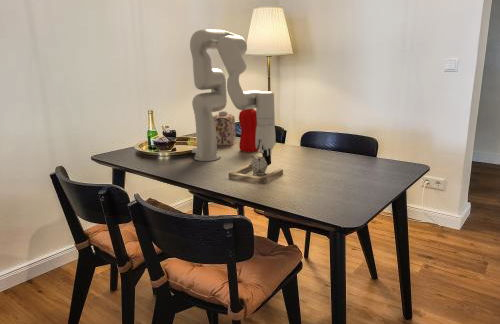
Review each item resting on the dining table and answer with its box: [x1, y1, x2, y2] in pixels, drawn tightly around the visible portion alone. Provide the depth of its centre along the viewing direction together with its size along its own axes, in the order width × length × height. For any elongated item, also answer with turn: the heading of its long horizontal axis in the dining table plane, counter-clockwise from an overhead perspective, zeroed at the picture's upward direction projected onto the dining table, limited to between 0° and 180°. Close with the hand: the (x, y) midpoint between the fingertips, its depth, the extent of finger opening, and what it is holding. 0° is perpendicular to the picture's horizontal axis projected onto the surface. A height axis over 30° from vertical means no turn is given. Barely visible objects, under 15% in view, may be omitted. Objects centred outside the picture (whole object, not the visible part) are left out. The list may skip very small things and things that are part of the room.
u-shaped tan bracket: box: [228, 163, 284, 185], centre depth 167 cm, size 17×16×2 cm
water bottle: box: [238, 108, 259, 154], centre depth 206 cm, size 9×11×25 cm
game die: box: [249, 155, 270, 176], centre depth 168 cm, size 9×8×10 cm
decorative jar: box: [213, 110, 236, 146], centre depth 226 cm, size 12×12×18 cm
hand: (266, 164), depth 172 cm, fingers closed
